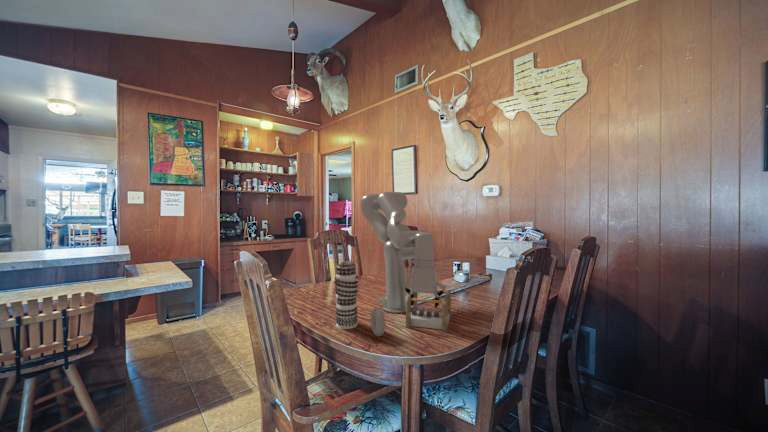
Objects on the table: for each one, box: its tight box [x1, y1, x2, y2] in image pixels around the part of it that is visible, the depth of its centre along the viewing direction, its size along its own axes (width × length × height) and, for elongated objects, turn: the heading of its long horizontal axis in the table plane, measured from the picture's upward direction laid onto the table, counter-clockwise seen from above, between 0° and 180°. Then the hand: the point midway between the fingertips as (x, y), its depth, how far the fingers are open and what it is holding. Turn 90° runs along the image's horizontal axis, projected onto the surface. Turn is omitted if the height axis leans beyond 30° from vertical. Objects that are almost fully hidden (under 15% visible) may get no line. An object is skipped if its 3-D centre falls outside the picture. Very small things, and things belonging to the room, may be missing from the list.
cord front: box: [410, 297, 443, 304], centre depth 116 cm, size 13×1×1 cm, turn 73°
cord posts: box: [405, 289, 452, 333], centre depth 122 cm, size 16×15×12 cm
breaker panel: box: [411, 307, 450, 330], centre depth 122 cm, size 15×10×5 cm, turn 73°
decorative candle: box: [334, 260, 359, 330], centre depth 121 cm, size 9×9×25 cm
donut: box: [370, 307, 386, 337], centre depth 111 cm, size 10×4×10 cm, turn 19°
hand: (424, 305), depth 123 cm, fingers open, 9 cm apart
